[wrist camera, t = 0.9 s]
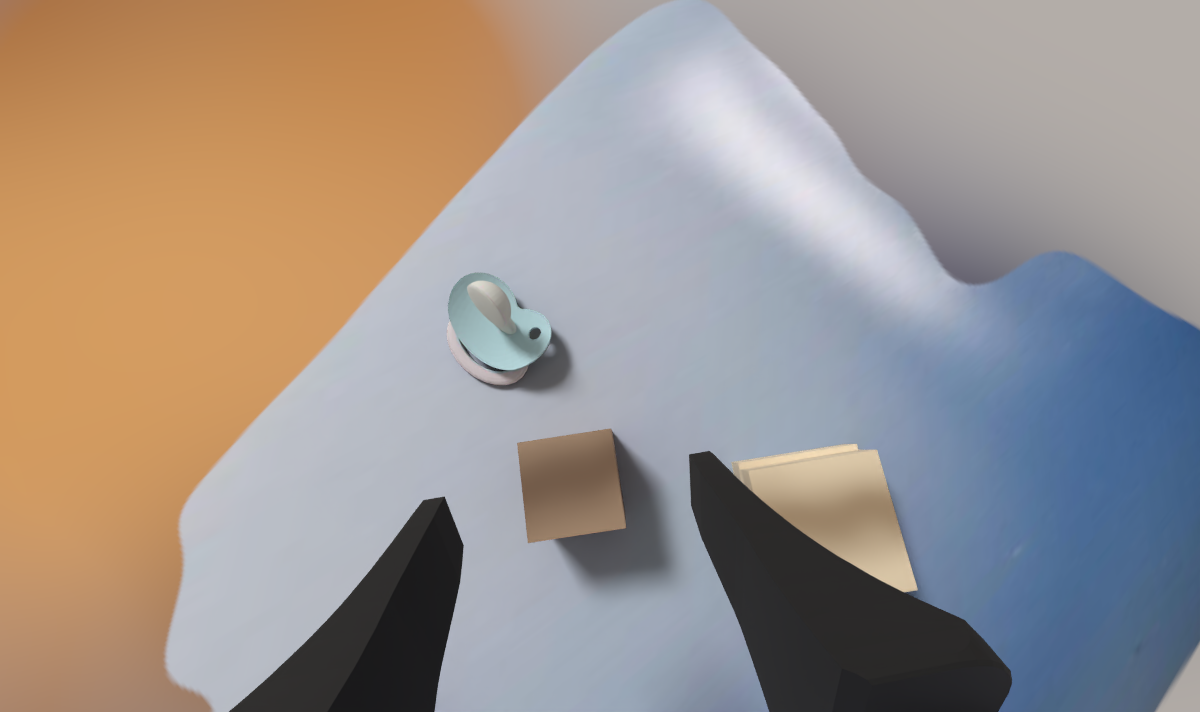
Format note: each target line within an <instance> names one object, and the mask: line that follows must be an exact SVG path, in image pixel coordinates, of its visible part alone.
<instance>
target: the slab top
mask: <svg viewBox="0 0 1200 712" xmlns="http://www.w3.org/2000/svg"><path fill="white" fill-rule="evenodd" d="M738 470H739V474H740V479H741V482H742V483H743V484H744V485H746V486H747V487H748V488H749V489H750V490H751V491H752V492H753V493H754V494H756V495H757V496H758V497H759V498H760V499H761V500H762V501H764V502H765V503H766V504H767V505H768V506H770V507H771V508H772V509H773V510H774V511H776V512H777V513H778V514H779V515H781V516H782V517H783V518H784V519H786V520H787V521H788V522H789V523H791V524H792V525H793V526H795V527H796V528H797V529H799V530H800V531H802V532H803V533H804V534H806V535H807V536H809V537H810V538H811V539H813V540H814V541H816V542H817V543H819V544H820V545H822V546H823V547H825V548H826V549H828V550H829V551H831V552H833V553H834V554H836V555H837V556H839V557H841V558H842V559H844V560H846V561H847V562H849V563H851V564H853V565H854V566H856V567H858V568H859V569H861V570H863V571H865V572H866V573H868V574H870V575H872V576H873V577H875V578H877V579H879V580H881V581H883V582H885V583H887V584H889V585H891V586H892V587H894V588H896V589H898V590H900V591H902V592H909V591H915V590H918V589H917V586H916V582H915V579H914V575H913V572H912V568H911V565H910V562H909V558H908V555H907V551H906V548H905V544H904V541H903V538H902V534H901V531H900V527H899V524H898V520H897V517H896V514H895V510H894V507H893V503H892V500H891V496H890V493H889V490H888V486H887V483H886V479H885V476H884V472H883V469H882V466H881V462H880V459H879V455H878V452H877V450H853V451H847V452H841V453H835V454H829V455H823V456H817V457H811V458H805V459H799V460H793V461H787V462H780V463H774V464H768V465H762V466H756V467H750V468H744V469H738Z"/></svg>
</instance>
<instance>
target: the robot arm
mask: <svg viewBox="0 0 1200 712" xmlns="http://www.w3.org/2000/svg"><path fill="white" fill-rule="evenodd" d="M689 462H690V487H691V506H692V509H693V513H694V516H695V519H696V522H697V525H698V528H699V531H700V534H701V538H702V540H703V542H704V545H705V547H706V549H707V551H708V554H709V556H710V558H711V560H712V563H713V565H714V567H715V569H716V572H717V574H718V576H719V578H720V580H721V583H722V585H723V587H724V589H725V592H726V594H727V596H728V598H729V600H730V603H731V605H732V607H733V609H734V612H735V614H736V617H737V619H738V622H739V624H740V627H741V629H742V632H743V635H744V638H745V641H746V644H747V646H748V649H749V652H750V655H751V658H752V661H753V664H754V667H755V670H756V673H757V676H758V679H759V682H760V685H761V688H762V691H763V694H764V697H765V700H766V703H767V706H768V709H769V712H998V711H999V709H1000V707H1001V705H1002V704H1003V702H1004V700H1005V698H1006V697H1007V695H1008V693H1009V690H1010V687H1011V685H1012V677H1011V671H1010V670H1009V668H1008V667H1007V666H1006V665H1005V664H1004V663H1003V662H1002V660H1001V659H1000V658H999V657H998V656H997V655H996V653H995V652H994V651H993V650H992V649H991V647H990V646H989V645H988V644H987V643H986V642H985V641H984V639H983V638H982V637H981V636H980V635H979V634H978V633H977V632H976V631H975V630H974V629H973V628H972V627H971V626H970V625H969V624H968V623H967V622H966V621H965V620H963V619H961V618H959V617H957V616H954V615H952V614H950V613H948V612H945V611H943V610H941V609H939V608H937V607H934V606H932V605H930V604H928V603H925V602H923V601H921V600H919V599H917V598H914V597H912V596H910V595H908V594H906V593H904V592H902V591H900V590H898V589H896V588H894V587H892V586H891V585H889V584H887V583H885V582H883V581H881V580H879V579H877V578H875V577H873V576H872V575H870V574H868V573H866V572H865V571H863V570H861V569H859V568H858V567H856V566H854V565H853V564H851V563H849V562H847V561H846V560H844V559H842V558H841V557H839V556H837V555H836V554H834V553H833V552H831V551H829V550H828V549H826V548H825V547H823V546H822V545H820V544H819V543H817V542H816V541H814V540H813V539H811V538H810V537H809V536H807V535H806V534H804V533H803V532H802V531H800V530H799V529H797V528H796V527H795V526H793V525H792V524H791V523H789V522H788V521H787V520H786V519H784V518H783V517H782V516H781V515H779V514H778V513H777V512H776V511H774V510H773V509H772V508H771V507H770V506H768V505H767V504H766V503H765V502H764V501H762V500H761V499H760V498H759V497H758V496H757V495H756V494H754V493H753V492H752V491H751V490H750V489H749V488H748V487H747V486H746V485H744V484H743V483H742V482H741V481H740V480H739V479H738V478H737V477H736V476H735V475H734V474H733V473H732V472H731V471H730V470H729V469H728V468H727V467H726V466H725V465H724V464H723V463H722V462H721V461H720V460H719V459H718V458H717V457H716V456H715V455H714V454H713V453H711V452H710V451H707V452H701V453H695V454H690V455H689ZM463 546H464V545H463V543H462V540H461V538H460V535H459V533H458V530H457V527H456V525H455V522H454V520H453V517H452V515H451V512H450V510H449V507H448V504H447V502H446V499H445V497H440V498H434V499H428V500H423V502H422V503H421V504H420V505H419V507H418V508H417V509H416V511H415V512H414V513H413V515H412V516H411V517H410V519H409V520H408V521H407V523H406V524H405V525H404V527H403V528H402V529H401V531H400V532H399V534H398V535H397V536H396V538H395V539H394V540H393V542H392V543H391V544H390V546H389V547H388V548H387V549H386V551H385V552H384V553H383V555H382V556H381V557H380V558H379V560H378V561H377V562H376V564H375V565H374V566H373V567H372V569H371V570H370V571H369V572H368V574H367V575H366V576H365V577H364V578H363V580H362V581H361V582H360V583H359V584H358V586H357V587H356V588H355V589H354V590H353V592H352V593H351V594H350V595H349V596H348V598H347V599H346V600H345V601H344V602H343V603H342V604H341V606H340V607H339V608H338V609H337V610H336V611H335V612H334V613H333V614H332V615H331V617H330V618H329V619H328V620H327V621H326V622H325V623H324V624H323V625H322V626H321V627H320V628H319V629H318V630H317V631H316V632H315V633H314V634H313V635H312V636H311V637H310V638H309V639H308V640H307V641H306V642H305V643H304V644H303V645H302V646H301V647H300V648H299V649H298V650H297V651H296V652H295V653H294V654H293V655H292V656H291V657H290V658H289V659H287V660H286V661H285V662H284V663H283V664H282V665H281V666H280V667H279V668H278V669H277V670H276V671H275V672H274V673H273V674H272V675H271V676H270V677H268V678H267V679H266V680H265V681H264V682H263V683H262V684H261V685H259V686H258V687H257V688H256V689H255V690H254V691H253V692H251V693H250V694H249V695H248V696H247V697H246V698H245V699H243V700H242V701H241V702H240V703H239V704H238V705H236V706H235V707H234V708H233V709H232V710H230V711H229V712H434V711H435V703H436V695H437V688H438V682H439V676H440V671H441V666H442V661H443V657H444V652H445V648H446V643H447V639H448V634H449V630H450V625H451V621H452V617H453V612H454V608H455V603H456V598H457V594H458V589H459V584H460V578H461V569H462V558H463Z"/></svg>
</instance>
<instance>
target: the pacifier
mask: <svg viewBox="0 0 1200 712" xmlns="http://www.w3.org/2000/svg"><path fill="white" fill-rule="evenodd" d="M448 313H449V319H450V321H449V324H448V328H447V341H448V344H449V347H450V350H451V352H452V354H453V355H454V357H455V359H456V360H457V362H458V363H459V364H460V365H461V366H462V367H463V368H464V369H465V370H466V371H467V372H469V373H470V374H471V375H473V376H474V377H475V378H477V379H480V380H482V381H484V382H486V383H490V384H494V385H509V384H512V383H515V382H517V381H518V380H519V379H521V378H522V377H523V376H524V374H525V373H526V371H527V369H528V365H530V364H531V363H533V362H535V361H536V360H537V359H538V358H539V357H540V356H541V355H542V354H543V353H544V352H545V350H546V349H547V348H548V346H549V343H550V340H551V335H552V333H551V327H550V324H549V322H548V320H547V319H546V318H545V317H544V316H543V315H542V314H540V313H539V312H536V311H533V310H529V309H521V308H519V307H518V306H517V303H516V299H515V297H514V295H513V293H512V291H511V290H510V288H509V287H508V286H507V285H506V284H505V283H504V282H503V281H501V280H500V279H499V278H497V277H495V276H493V275H490V274H486V273H472V274H469V275H466V276H464V277H463V278H461V279H460V280H459V281H458V282H457V283H456V284H455V286H454V287H453V289H452V291H451V294H450V297H449V303H448ZM535 328H538V329H540V330H541V334H540V336H539V337H538V338H537V339H530V332H531V331H532V330H533V329H535ZM464 346H465V347H466V348H467V349H468V350H469V351H470V352H471V353H472V354H473V355H474V356H475V357H477V358H478V359H479V360H481V361H482V362H484V363H486V364H488V365H490V366H492V367H495V368H498V369H502V370H506V371H492V370H488V369H486V368H484V367H482V366H481V365H479V364H478V363H476V362H475V361H474V360H473V359H472V358H471V357H470V356H469V354H468V353H467V351H466V349H465V348H464Z"/></svg>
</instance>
